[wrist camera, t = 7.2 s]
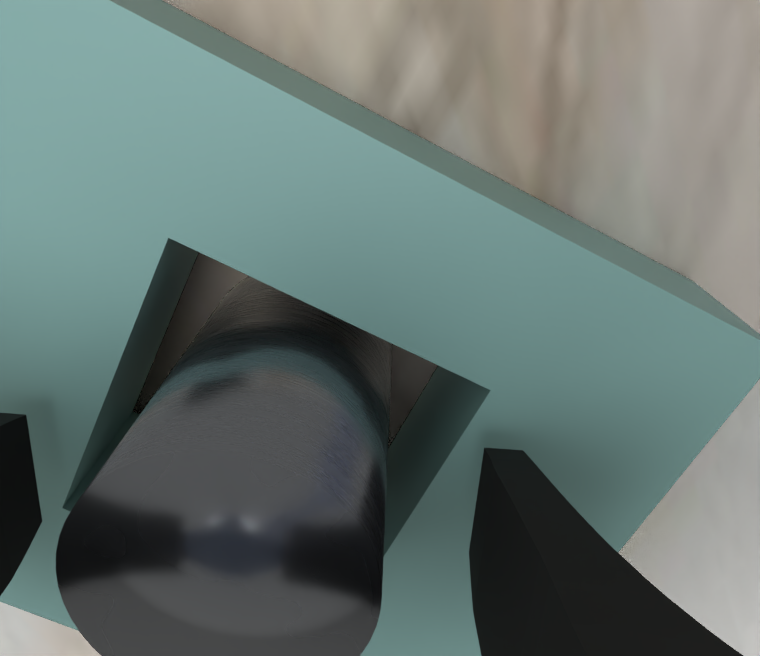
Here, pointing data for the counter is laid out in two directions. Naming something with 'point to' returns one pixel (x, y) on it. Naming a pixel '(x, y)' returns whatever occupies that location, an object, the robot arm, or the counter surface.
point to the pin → (242, 495)
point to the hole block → (327, 290)
